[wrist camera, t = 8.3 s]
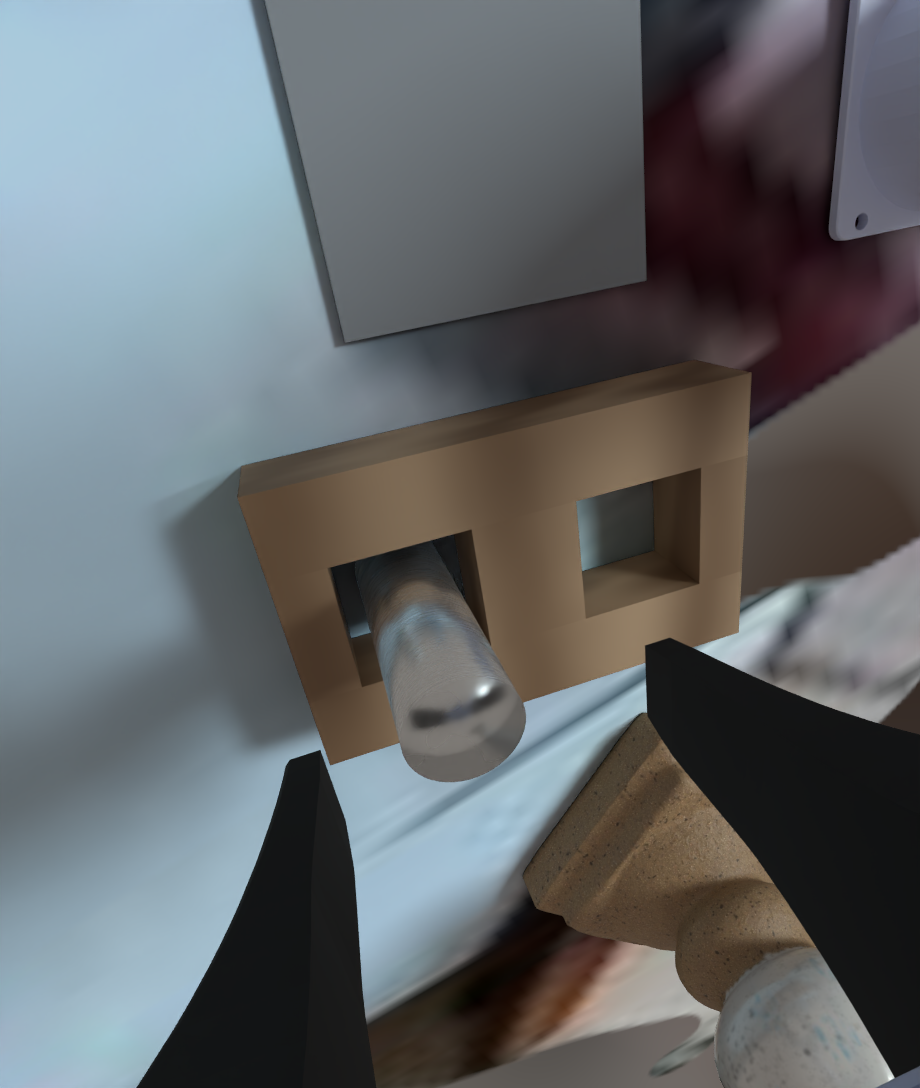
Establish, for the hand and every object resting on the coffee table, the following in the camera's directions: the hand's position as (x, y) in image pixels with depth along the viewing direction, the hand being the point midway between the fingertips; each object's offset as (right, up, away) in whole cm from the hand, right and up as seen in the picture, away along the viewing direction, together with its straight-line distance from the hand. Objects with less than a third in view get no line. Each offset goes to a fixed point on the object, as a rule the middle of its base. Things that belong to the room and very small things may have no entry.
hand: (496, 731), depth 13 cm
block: (+1, +4, +10) cm, 11 cm away
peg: (-3, +3, +9) cm, 10 cm away
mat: (0, +16, +4) cm, 16 cm away
